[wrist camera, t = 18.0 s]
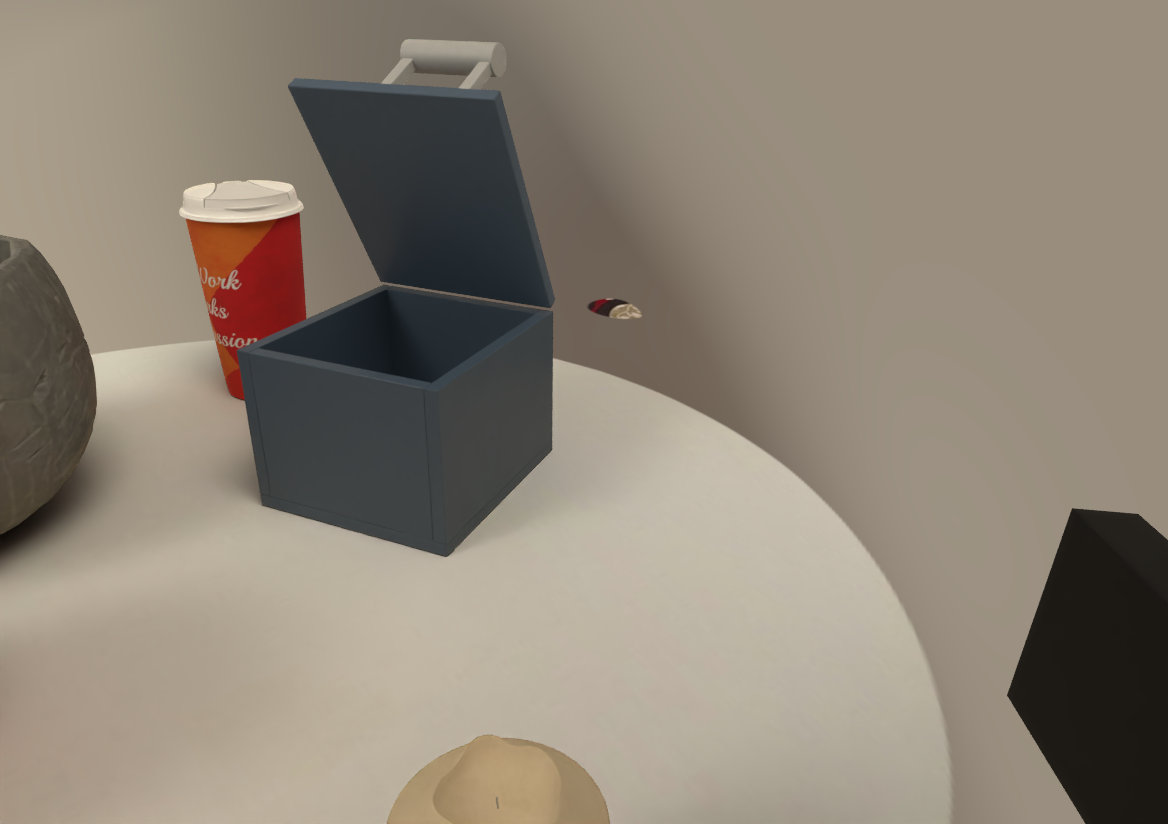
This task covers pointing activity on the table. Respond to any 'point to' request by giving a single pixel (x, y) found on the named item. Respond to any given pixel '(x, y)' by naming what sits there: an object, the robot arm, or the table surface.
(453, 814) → the candle
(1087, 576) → the robot arm
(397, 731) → the table surface
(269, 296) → the coffee cup
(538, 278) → the box lid
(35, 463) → the bowl
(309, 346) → the open box
